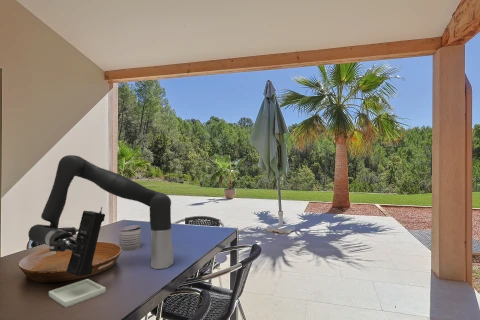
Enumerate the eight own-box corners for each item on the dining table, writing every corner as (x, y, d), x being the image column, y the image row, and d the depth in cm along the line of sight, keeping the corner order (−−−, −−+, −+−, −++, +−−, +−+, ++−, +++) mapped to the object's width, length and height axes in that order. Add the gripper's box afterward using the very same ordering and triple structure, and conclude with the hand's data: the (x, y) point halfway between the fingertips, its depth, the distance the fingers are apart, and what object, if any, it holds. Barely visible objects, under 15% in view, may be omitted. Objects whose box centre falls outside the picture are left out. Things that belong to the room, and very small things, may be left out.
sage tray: (87, 283, 120) (87, 278, 120) (105, 292, 111) (105, 287, 111) (48, 296, 109) (48, 291, 109) (65, 307, 100) (65, 302, 100)
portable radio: (63, 271, 109) (80, 203, 113) (78, 270, 114) (93, 205, 118) (77, 276, 105) (94, 206, 110) (91, 274, 111) (107, 207, 115)
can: (133, 251, 160) (133, 229, 160) (114, 250, 162) (114, 228, 162) (144, 245, 171) (144, 224, 171) (126, 244, 173) (126, 224, 173)
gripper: (39, 233, 114) (58, 242, 103) (77, 227, 124) (97, 234, 114) (39, 253, 114) (58, 263, 103) (77, 245, 125) (97, 253, 114)
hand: (79, 248), depth 109 cm, fingers closed on portable radio
